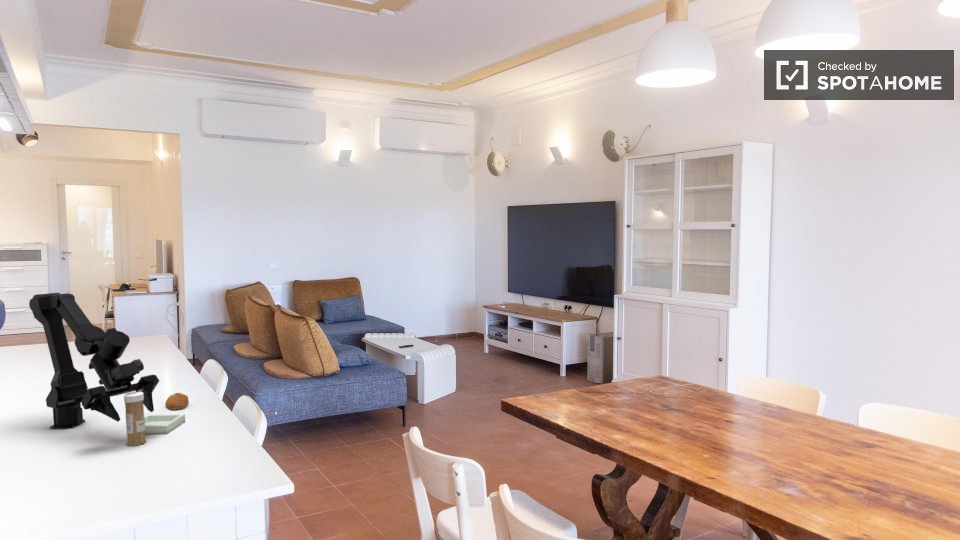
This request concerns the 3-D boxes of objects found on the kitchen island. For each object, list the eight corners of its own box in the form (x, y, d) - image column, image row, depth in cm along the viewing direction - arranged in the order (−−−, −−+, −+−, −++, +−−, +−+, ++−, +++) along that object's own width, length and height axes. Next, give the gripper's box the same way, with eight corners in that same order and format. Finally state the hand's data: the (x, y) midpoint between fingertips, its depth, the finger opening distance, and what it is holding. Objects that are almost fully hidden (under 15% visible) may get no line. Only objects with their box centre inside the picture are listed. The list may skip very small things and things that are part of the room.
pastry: (190, 409, 204) (189, 397, 203) (166, 412, 201) (165, 400, 200) (188, 402, 212) (187, 391, 212) (165, 405, 209) (164, 394, 209)
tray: (127, 434, 179) (126, 426, 179) (147, 422, 190) (147, 414, 190) (167, 433, 179) (166, 426, 179) (185, 421, 190) (184, 414, 190)
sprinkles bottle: (147, 443, 171) (144, 393, 170) (127, 447, 168) (124, 396, 168) (145, 439, 175) (142, 390, 174) (125, 442, 172) (123, 392, 171)
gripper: (84, 358, 164) (112, 406, 160) (153, 345, 180) (180, 388, 176) (69, 385, 169) (96, 432, 164) (137, 370, 185) (164, 413, 180)
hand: (136, 415), depth 171 cm, fingers open, 9 cm apart
